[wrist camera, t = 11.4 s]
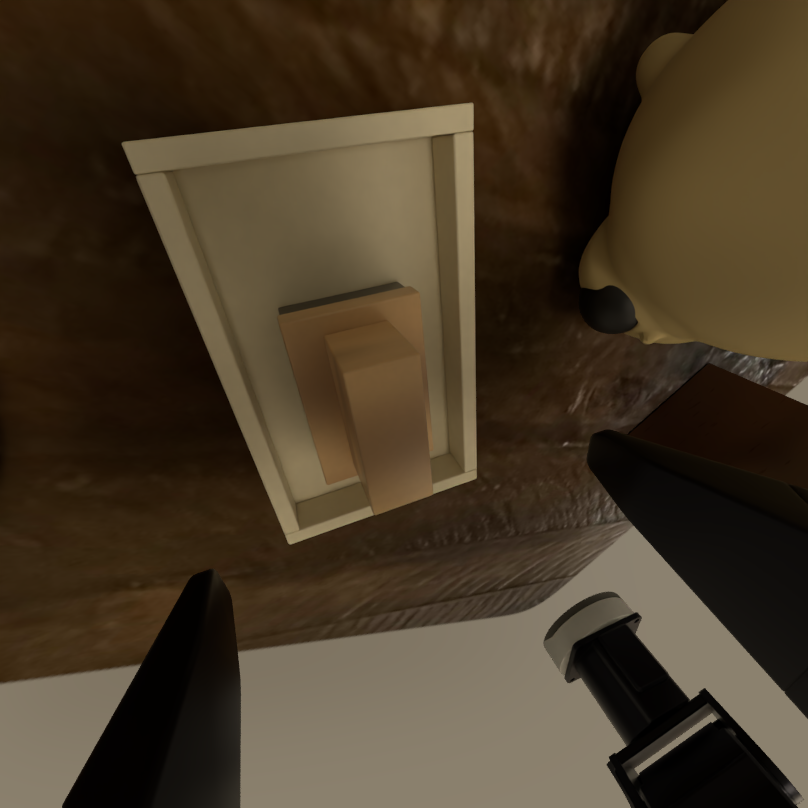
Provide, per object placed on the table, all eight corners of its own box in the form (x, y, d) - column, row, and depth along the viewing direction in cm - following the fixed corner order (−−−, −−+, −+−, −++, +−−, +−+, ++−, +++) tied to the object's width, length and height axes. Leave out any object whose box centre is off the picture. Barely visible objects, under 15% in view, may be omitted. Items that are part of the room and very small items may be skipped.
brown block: (636, 483, 26) (815, 628, 18) (611, 448, 23) (812, 602, 15) (723, 408, 25) (952, 525, 17) (708, 362, 22) (977, 477, 14)
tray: (457, 453, 19) (477, 478, 17) (283, 511, 17) (288, 545, 16) (442, 109, 12) (474, 101, 10) (137, 144, 10) (120, 142, 8)
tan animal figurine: (499, 170, 17) (553, 422, 15) (944, -493, 5) (1398, 195, 4) (674, 189, 20) (738, 399, 18) (1192, -214, 8) (1510, 239, 7)
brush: (417, 425, 17) (466, 497, 13) (318, 456, 16) (342, 542, 12) (400, 277, 13) (460, 319, 10) (273, 304, 12) (289, 363, 9)
